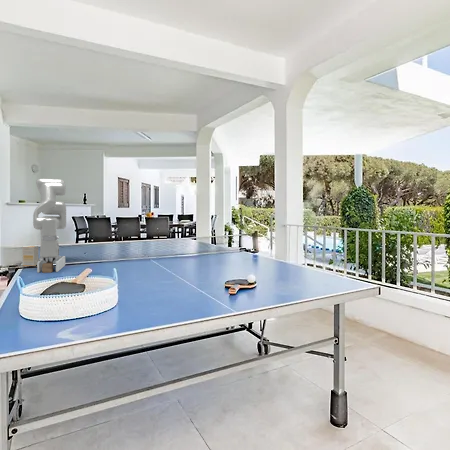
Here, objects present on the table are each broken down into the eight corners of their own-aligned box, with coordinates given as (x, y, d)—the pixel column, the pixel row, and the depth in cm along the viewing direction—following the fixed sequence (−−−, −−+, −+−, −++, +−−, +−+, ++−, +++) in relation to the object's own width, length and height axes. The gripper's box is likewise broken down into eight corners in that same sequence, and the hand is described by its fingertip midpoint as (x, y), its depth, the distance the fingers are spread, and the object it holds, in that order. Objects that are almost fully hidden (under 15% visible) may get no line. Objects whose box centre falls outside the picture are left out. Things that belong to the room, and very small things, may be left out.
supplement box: (39, 265, 225) (38, 245, 224) (34, 267, 220) (34, 246, 219) (27, 265, 226) (27, 245, 225) (22, 266, 221) (21, 246, 220)
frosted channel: (47, 265, 226) (47, 256, 226) (65, 265, 229) (65, 256, 229) (37, 272, 203) (37, 262, 203) (57, 271, 206) (57, 262, 206)
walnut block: (44, 271, 207) (44, 262, 207) (53, 270, 209) (53, 262, 208) (42, 272, 203) (42, 264, 202) (51, 272, 204) (51, 264, 204)
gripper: (63, 237, 214) (64, 267, 215) (37, 238, 210) (37, 267, 211) (61, 239, 207) (61, 269, 208) (34, 239, 203) (34, 270, 204)
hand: (49, 268), depth 210 cm, fingers closed
